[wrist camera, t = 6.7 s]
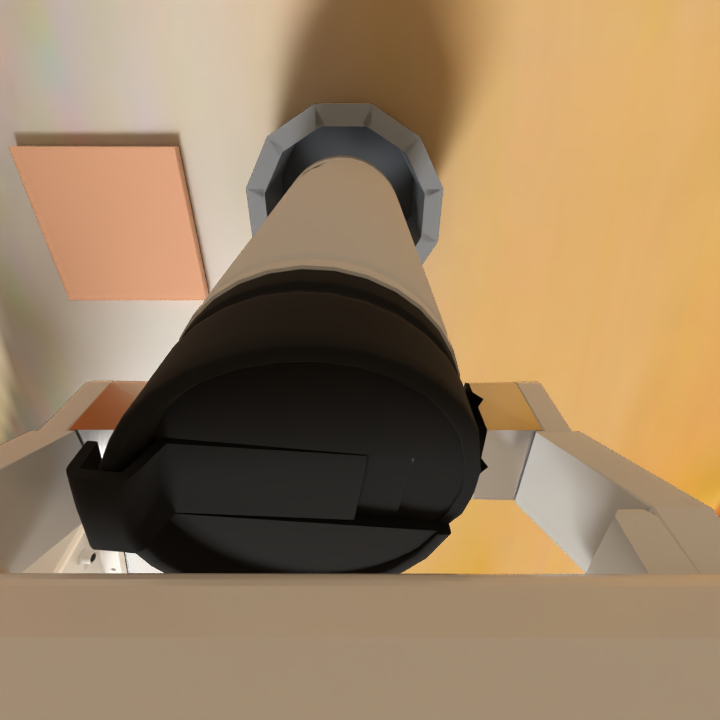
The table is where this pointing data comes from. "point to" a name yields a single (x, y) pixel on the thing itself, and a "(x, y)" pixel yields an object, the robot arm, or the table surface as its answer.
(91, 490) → the travel mug
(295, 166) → the faceted gray cup
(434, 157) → the table surface
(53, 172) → the terracotta tile
